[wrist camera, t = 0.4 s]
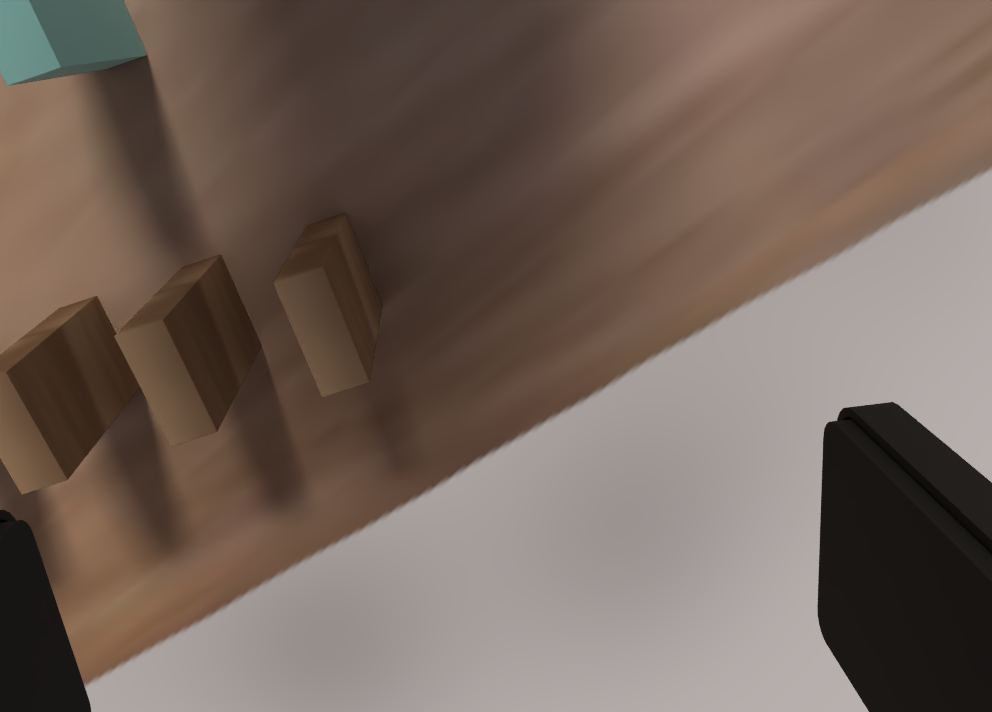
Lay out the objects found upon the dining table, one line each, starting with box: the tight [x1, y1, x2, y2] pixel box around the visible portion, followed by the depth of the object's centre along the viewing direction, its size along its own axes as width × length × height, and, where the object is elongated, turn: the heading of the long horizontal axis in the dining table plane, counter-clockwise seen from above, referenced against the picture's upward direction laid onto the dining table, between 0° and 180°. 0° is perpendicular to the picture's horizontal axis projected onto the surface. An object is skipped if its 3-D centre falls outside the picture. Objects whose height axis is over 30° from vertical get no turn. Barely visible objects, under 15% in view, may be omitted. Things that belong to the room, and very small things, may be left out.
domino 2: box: [114, 255, 262, 446], centre depth 40 cm, size 2×5×10 cm, turn 17°
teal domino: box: [0, 0, 147, 86], centre depth 34 cm, size 2×5×10 cm, turn 17°
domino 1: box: [0, 296, 140, 494], centre depth 40 cm, size 2×5×10 cm, turn 18°
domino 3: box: [273, 213, 382, 397], centre depth 39 cm, size 2×5×10 cm, turn 17°
